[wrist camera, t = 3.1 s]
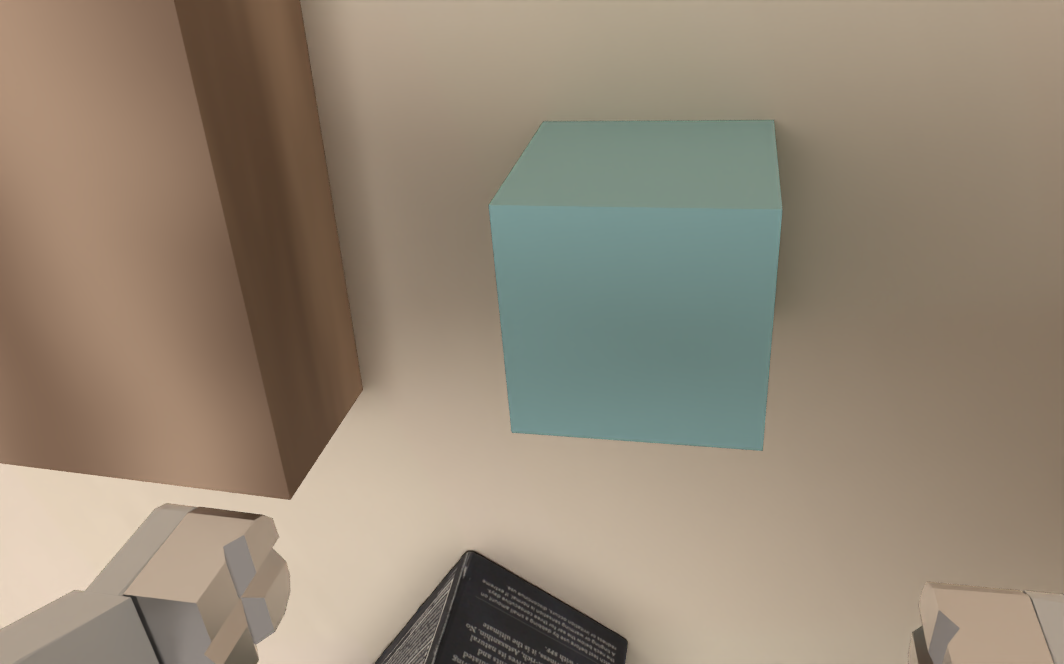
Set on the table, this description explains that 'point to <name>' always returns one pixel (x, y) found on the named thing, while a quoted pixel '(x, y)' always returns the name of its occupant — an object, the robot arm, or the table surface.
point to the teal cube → (640, 280)
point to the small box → (499, 624)
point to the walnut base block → (167, 245)
